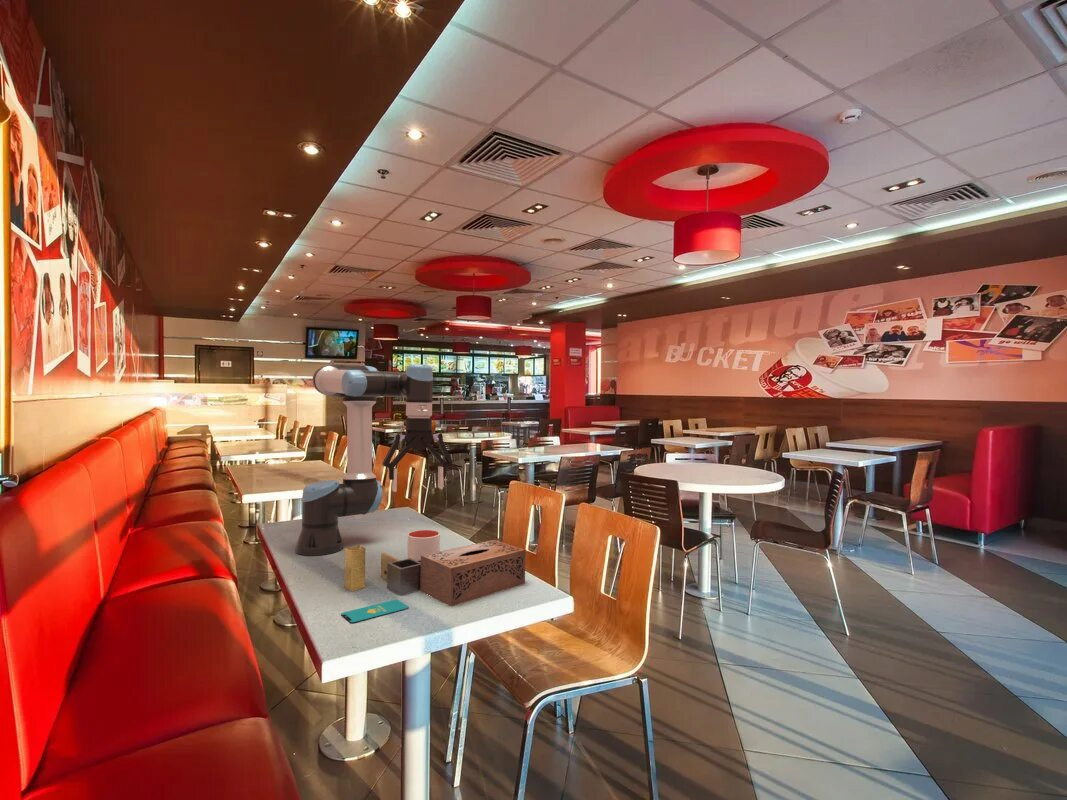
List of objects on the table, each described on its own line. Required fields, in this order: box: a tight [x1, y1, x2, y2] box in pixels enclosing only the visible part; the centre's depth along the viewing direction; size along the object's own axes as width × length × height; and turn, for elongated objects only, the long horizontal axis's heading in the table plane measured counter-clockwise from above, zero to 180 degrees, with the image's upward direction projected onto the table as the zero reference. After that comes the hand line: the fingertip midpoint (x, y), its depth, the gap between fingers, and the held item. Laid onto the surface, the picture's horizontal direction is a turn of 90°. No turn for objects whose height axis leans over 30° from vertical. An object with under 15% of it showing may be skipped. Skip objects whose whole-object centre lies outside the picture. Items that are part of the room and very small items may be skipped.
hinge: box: [380, 552, 421, 596], centre depth 153 cm, size 17×17×7 cm
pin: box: [344, 544, 366, 592], centre depth 147 cm, size 4×4×11 cm
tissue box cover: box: [419, 539, 526, 607], centre depth 149 cm, size 26×14×10 cm, turn 133°
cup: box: [406, 529, 441, 561], centre depth 168 cm, size 10×10×10 cm
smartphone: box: [340, 599, 410, 625], centre depth 130 cm, size 7×1×15 cm
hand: (417, 489), depth 155 cm, fingers open, 13 cm apart
